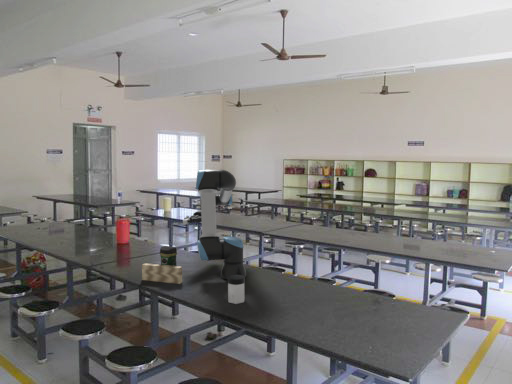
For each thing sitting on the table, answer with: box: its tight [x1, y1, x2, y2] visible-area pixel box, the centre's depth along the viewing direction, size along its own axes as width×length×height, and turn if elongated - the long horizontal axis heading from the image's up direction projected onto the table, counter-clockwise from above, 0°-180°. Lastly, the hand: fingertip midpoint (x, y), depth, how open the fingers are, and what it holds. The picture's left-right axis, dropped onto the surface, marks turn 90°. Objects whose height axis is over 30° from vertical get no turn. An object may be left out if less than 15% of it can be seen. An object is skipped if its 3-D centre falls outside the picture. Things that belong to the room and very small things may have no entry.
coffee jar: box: [159, 245, 178, 266], centre depth 239 cm, size 10×8×19 cm
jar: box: [227, 275, 246, 305], centre depth 202 cm, size 9×8×12 cm
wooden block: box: [141, 262, 183, 285], centre depth 233 cm, size 24×3×9 cm, turn 73°
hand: (183, 222), depth 253 cm, fingers closed
